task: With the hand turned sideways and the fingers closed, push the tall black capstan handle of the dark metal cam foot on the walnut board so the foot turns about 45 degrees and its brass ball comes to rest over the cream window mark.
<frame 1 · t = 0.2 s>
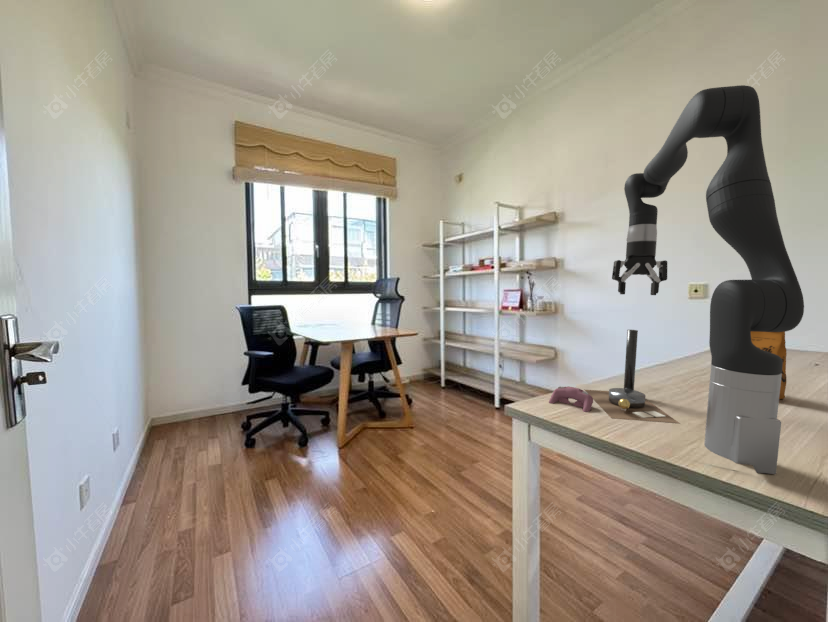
hand: (637, 294, 105), 29 cm above the table, tool pointing down, fingers open, 8 cm apart
coffee package: (754, 395, 101), on the table
video game controller: (570, 411, 88), on the table
cam foot: (628, 368, 88), point 11 cm above the table, hinge at 0.0°
walnut board: (625, 409, 88), on the table
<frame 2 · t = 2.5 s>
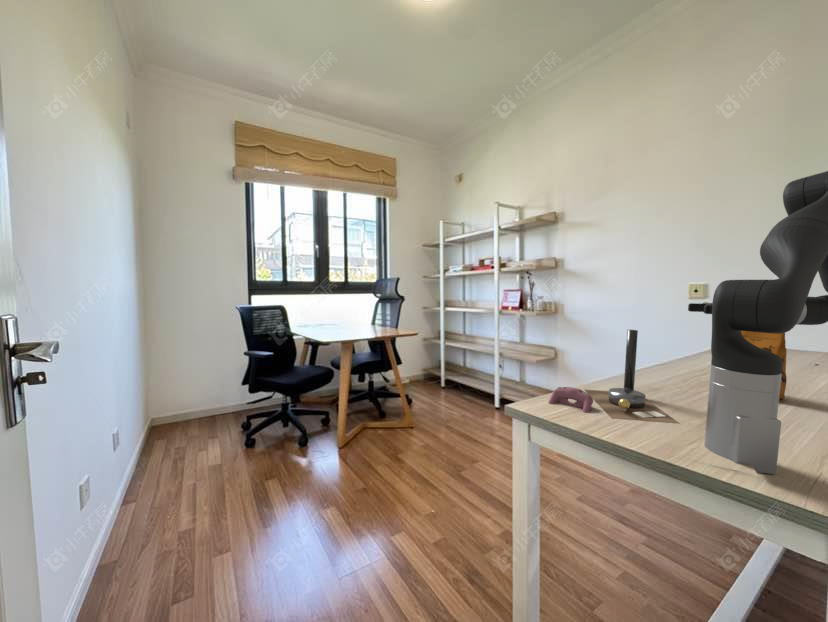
hand: (696, 308, 90), 26 cm above the table, tool horizontal, fingers open, 6 cm apart
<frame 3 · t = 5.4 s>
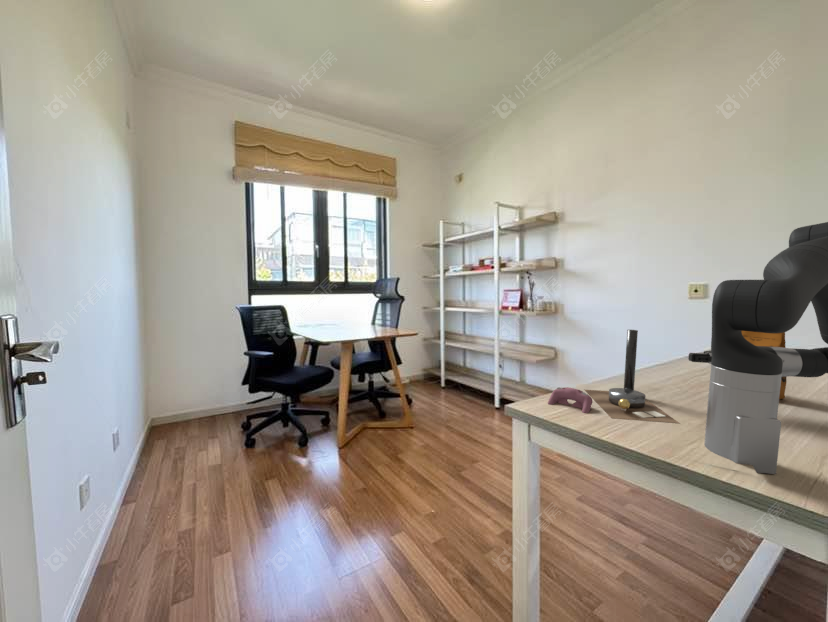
hand: (690, 357, 91), 13 cm above the table, tool horizontal, fingers closed
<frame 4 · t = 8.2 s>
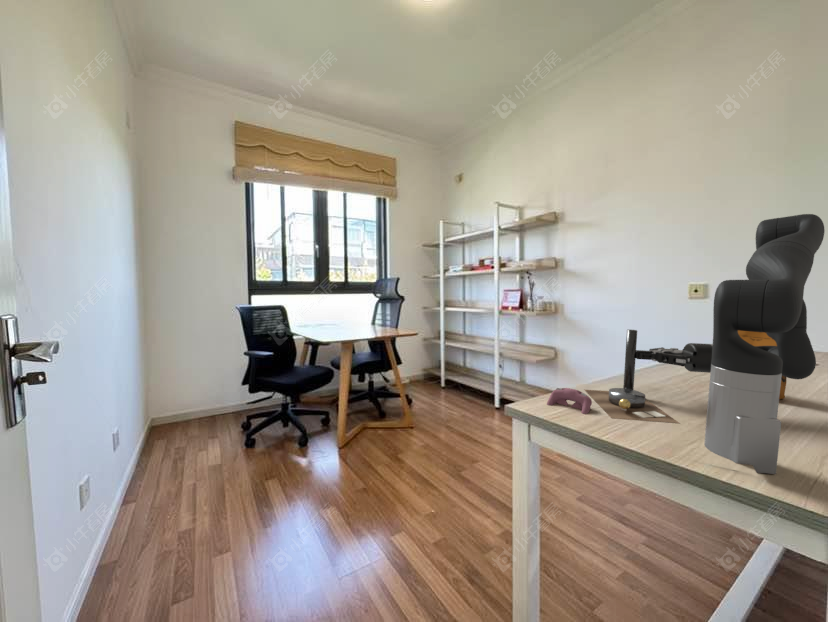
hand: (635, 354, 94), 13 cm above the table, tool horizontal, fingers closed
cam foot: (628, 368, 88), point 11 cm above the table, hinge at 0.6°, touching gripper
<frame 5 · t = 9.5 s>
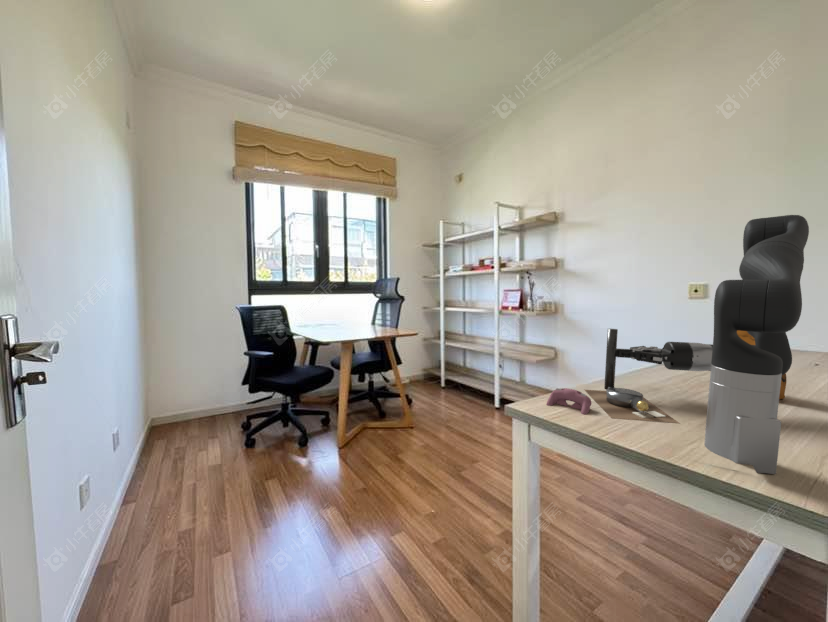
hand: (615, 352, 96), 13 cm above the table, tool horizontal, fingers closed
cam foot: (626, 368, 88), point 11 cm above the table, hinge at 30.8°, touching gripper
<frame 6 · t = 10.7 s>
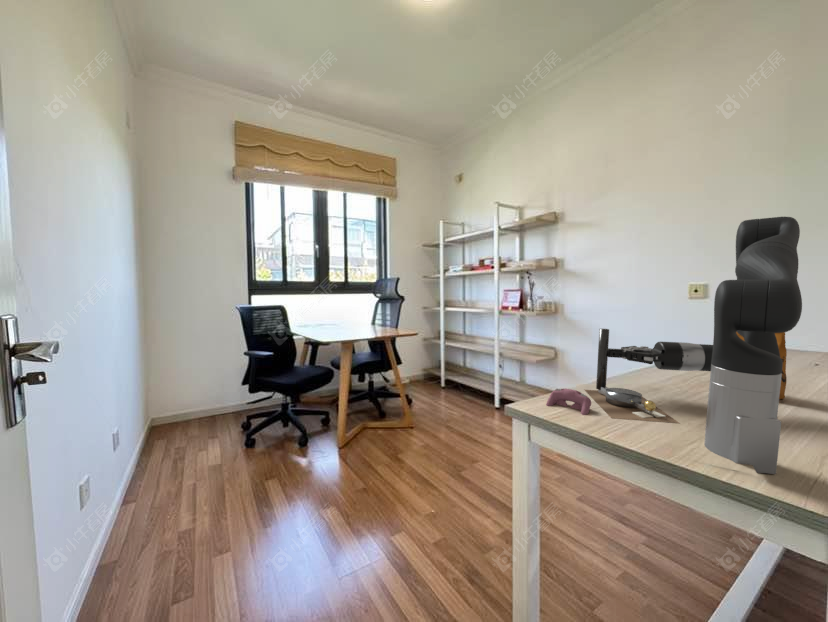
hand: (606, 352, 96), 13 cm above the table, tool horizontal, fingers closed
cam foot: (625, 368, 88), point 11 cm above the table, hinge at 46.0°, touching gripper
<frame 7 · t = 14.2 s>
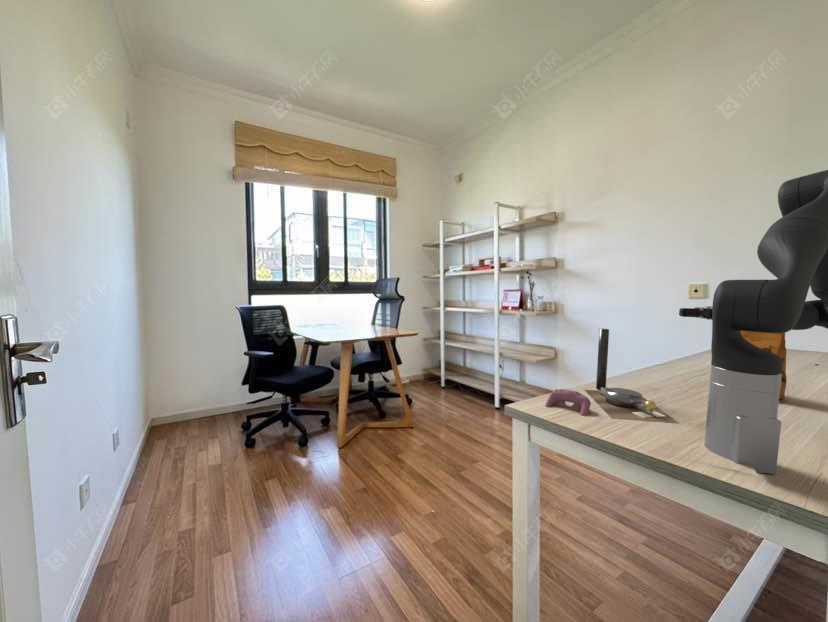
hand: (680, 312, 91), 25 cm above the table, tool horizontal, fingers closed
cam foot: (625, 368, 88), point 11 cm above the table, hinge at 46.2°
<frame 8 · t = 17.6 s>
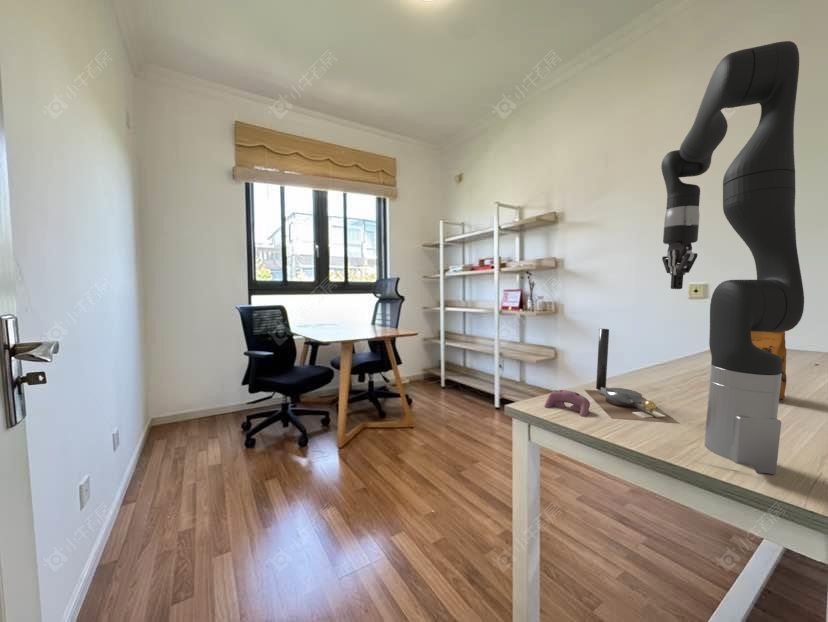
hand: (676, 288, 95), 31 cm above the table, tool pointing down, fingers closed
at the end: cam foot at +46° (first picture: +0°) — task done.
